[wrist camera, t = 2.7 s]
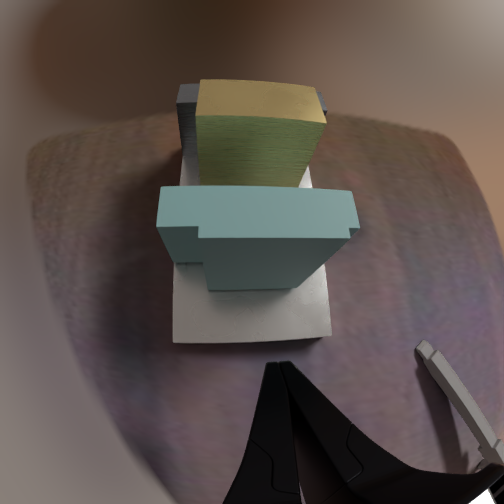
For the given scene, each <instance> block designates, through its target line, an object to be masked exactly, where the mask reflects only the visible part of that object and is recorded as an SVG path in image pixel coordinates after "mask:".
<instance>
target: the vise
mask: <svg viewBox="0 0 504 504" xmlns="http://www.w3.org/2000/svg"><path fill="white" fill-rule="evenodd" d="M199 87H200V84H181V85H180V89H179V93H178V97H177V102H176V106H177V114H178V123H179V131H180V138H181V146H182V153H183V160H182V168H181V177H180V186H200V175H199V162H198V149H197V134H196V117H195V115H196V107H197V100H198V94H199ZM316 93H317V96H318V99H319V101H320V104H321V107H322V110H323V113H324V116H325V115H326V113H327V108H326V105H325V103H324V100H323V97H322V95H321V92H317V91H316ZM298 188H312V184H311V178H310V173H309V168H308V167H307V169H306V171H305V173H304V175H303V178H302V180H301V182H300V184H299V186H298ZM328 336H332V332H331V320H330V310H329V300H328V291H327V282H326V274H325V266H324V264H323V265H322V266H321V267H320V268H318V269H317V270H316V271H315V272H314V273H313V274H312V275H311V276H310V277H308V278H307V279H306V280H305V281H304V282H303V283H302V284H301V285H300V286H298V287H297V288H283V289H245V290H208V288H207V283H206V278H205V272H204V267H203V262H174V276H173V343H184V344H220V343H254V342H273V341H288V340H300V339H311V338H322V337H328Z"/></svg>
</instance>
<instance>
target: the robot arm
mask: <svg viewBox="0 0 504 504" xmlns="http://www.w3.org/2000/svg"><path fill="white" fill-rule="evenodd" d="M351 423H352V422H351V421H350V420H349V419H348V418H347V417H346V416H345V415H344V414H343V413H342V412H341V411H340V410H339V409H337V408H336V407H335V406H334V405H333V404H332V403H331V402H330V401H329V400H328V399H327V398H326V397H325V396H324V395H323V394H322V393H321V392H320V391H319V390H318V389H317V388H316V387H315V386H314V385H313V384H312V383H311V382H310V380H309V379H308V378H307V377H306V376H305V375H304V374H303V373H302V372H301V371H300V370H299V369H298V368H297V367H296V366H295V365H294V364H293V363H292V362H291V361H280V362H267V363H266V366H265V370H264V375H263V379H262V384H261V388H260V393H259V397H258V401H257V405H256V410H255V414H254V418H253V422H252V426H251V430H250V434H249V439H248V442H247V446H246V450H245V453H244V456H243V459H242V462H241V465H240V467H239V470H238V472H237V474H236V477H235V479H234V481H233V483H232V485H231V487H230V489H229V491H228V493H227V495H226V497H225V499H224V501H223V503H222V504H302V502H301V495H300V486H301V489H302V492H303V496H304V499H305V502H306V504H504V465H502V464H499V463H493V462H491V463H489V464H488V465H487V466H485V467H484V468H483V469H481V470H480V471H479V472H477V473H474V474H449V473H439V472H431V471H423V470H419V469H415V468H413V467H410V466H408V465H407V464H405V463H403V462H402V461H400V460H399V459H397V458H396V457H394V456H393V455H392V454H390V453H389V452H387V451H386V450H384V449H383V448H381V447H380V446H379V445H377V444H376V443H375V442H373V441H372V440H371V439H370V438H368V437H367V436H366V435H365V434H364V433H363V432H362V431H360V430H359V429H358V428H357V427H356V426H355V425H354V424H351ZM299 482H300V485H299Z"/></svg>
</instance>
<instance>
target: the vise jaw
mask: <svg viewBox="0 0 504 504" xmlns="http://www.w3.org/2000/svg"><path fill="white" fill-rule="evenodd" d="M156 227H157V230H158V232H159V234H160V236H161V238H162V240H163V243H164V245H165V247H166V249H167V251H168V253H169V255H170V257H171V259H172V261H173V262H203V267H204V272H205V278H206V283H207V288H208V290H245V289H283V288H297V287H298V286H300V285H301V284H302V283H303V282H304V281H305V280H306V279H307V278H308V277H310V276H311V275H312V274H313V273H314V272H315V271H316V270H317V269H318V268H320V267H321V266H322V265H323V264H324V263H325V262H326V261H327V260H328V259H329V258H330V257H331V256H332V255H334V254H335V253H336V252H337V251H338V250H339V249H340V248H341V247H342V246H343V245H344V244H345V243H346V242H347V241H348V240H349V239H350V238H351V236H352V235H353V234H354V233H355V232H357V231H358V230H359V229H360V226H359V221H358V216H357V212H356V208H355V203H354V199H353V195H352V191H343V190H329V189H314V188H296V187H272V186H164V187H161V190H160V198H159V206H158V214H157V224H156Z"/></svg>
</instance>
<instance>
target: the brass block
mask: <svg viewBox="0 0 504 504" xmlns="http://www.w3.org/2000/svg"><path fill="white" fill-rule="evenodd" d="M195 117H196V134H197V149H198V162H199V175H200V186H272V187H296V188H298V186H299V184H300V182H301V180H302V178H303V175H304V173H305V171H306V169H307V167H308V164H309V162H310V160H311V158H312V155H313V153H314V151H315V149H316V146H317V144H318V142H319V140H320V137H321V135H322V133H323V131H324V128H325V126H326V124H327V122H326V119H325V116H324V113H323V110H322V107H321V104H320V101H319V99H318V96H317V93H316V90H315V88H314V87H309V86H302V85H293V84H285V83H275V82H264V81H248V80H201V81H200V87H199V94H198V100H197V107H196V115H195Z"/></svg>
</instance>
